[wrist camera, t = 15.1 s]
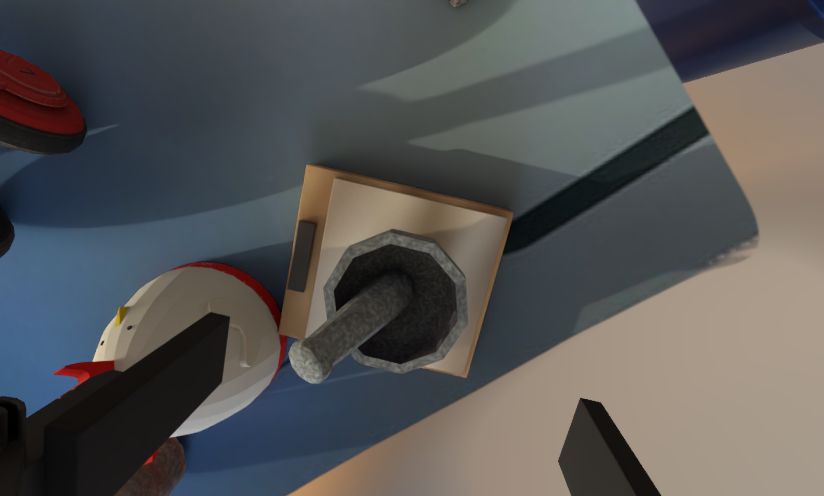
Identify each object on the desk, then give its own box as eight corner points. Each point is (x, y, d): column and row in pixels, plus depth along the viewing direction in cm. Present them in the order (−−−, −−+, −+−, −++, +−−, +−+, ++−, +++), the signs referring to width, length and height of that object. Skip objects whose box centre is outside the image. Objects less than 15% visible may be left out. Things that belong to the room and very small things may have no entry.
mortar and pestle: (438, 200, 33) (440, 225, 21) (479, 306, 34) (503, 383, 23) (309, 252, 34) (245, 303, 22) (356, 351, 36) (318, 446, 24)
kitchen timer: (232, 235, 37) (100, 286, 22) (314, 361, 39) (243, 484, 25) (112, 305, 39) (-81, 395, 24) (196, 421, 41) (66, 568, 27)
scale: (509, 209, 35) (515, 213, 33) (465, 367, 39) (467, 382, 36) (313, 163, 35) (304, 164, 33) (285, 325, 39) (275, 337, 36)
